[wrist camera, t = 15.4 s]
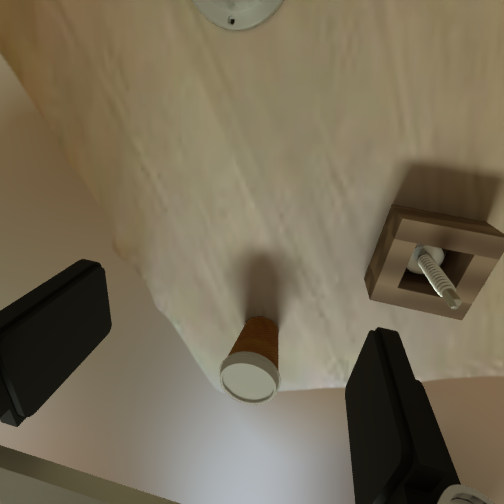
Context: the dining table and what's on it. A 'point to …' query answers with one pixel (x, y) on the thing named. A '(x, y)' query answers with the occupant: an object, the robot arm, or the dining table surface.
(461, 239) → the socket block
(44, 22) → the dining table surface
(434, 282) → the screw
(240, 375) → the disposable coffee cup
